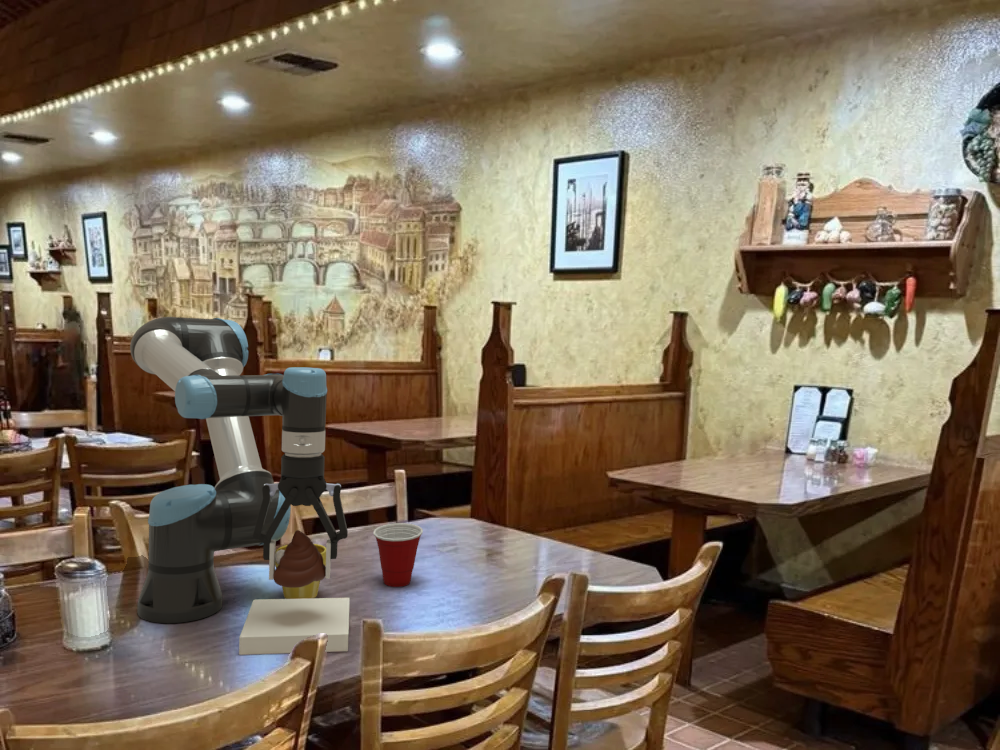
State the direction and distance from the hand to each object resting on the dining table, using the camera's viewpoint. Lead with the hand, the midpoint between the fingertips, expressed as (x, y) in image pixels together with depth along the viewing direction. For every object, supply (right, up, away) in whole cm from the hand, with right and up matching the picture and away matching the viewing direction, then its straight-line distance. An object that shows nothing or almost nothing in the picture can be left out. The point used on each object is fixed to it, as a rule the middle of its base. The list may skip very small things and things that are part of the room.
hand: (300, 576), depth 140 cm
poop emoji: (0, -1, 0) cm, 1 cm away
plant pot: (-5, -9, +19) cm, 22 cm away
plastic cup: (+13, -9, +30) cm, 34 cm away
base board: (-1, -10, +1) cm, 10 cm away
